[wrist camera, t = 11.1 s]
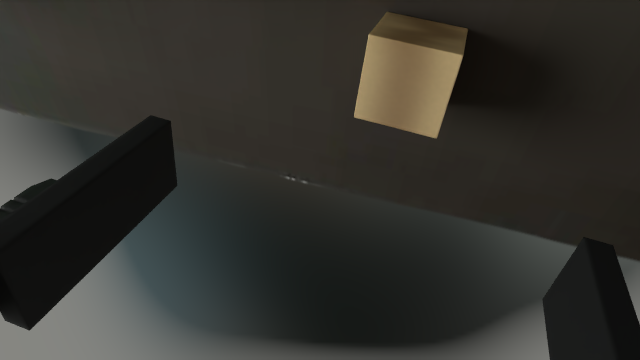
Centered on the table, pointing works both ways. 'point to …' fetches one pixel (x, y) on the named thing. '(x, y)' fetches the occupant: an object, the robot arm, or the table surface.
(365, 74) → the block
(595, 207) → the table surface
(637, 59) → the table surface
